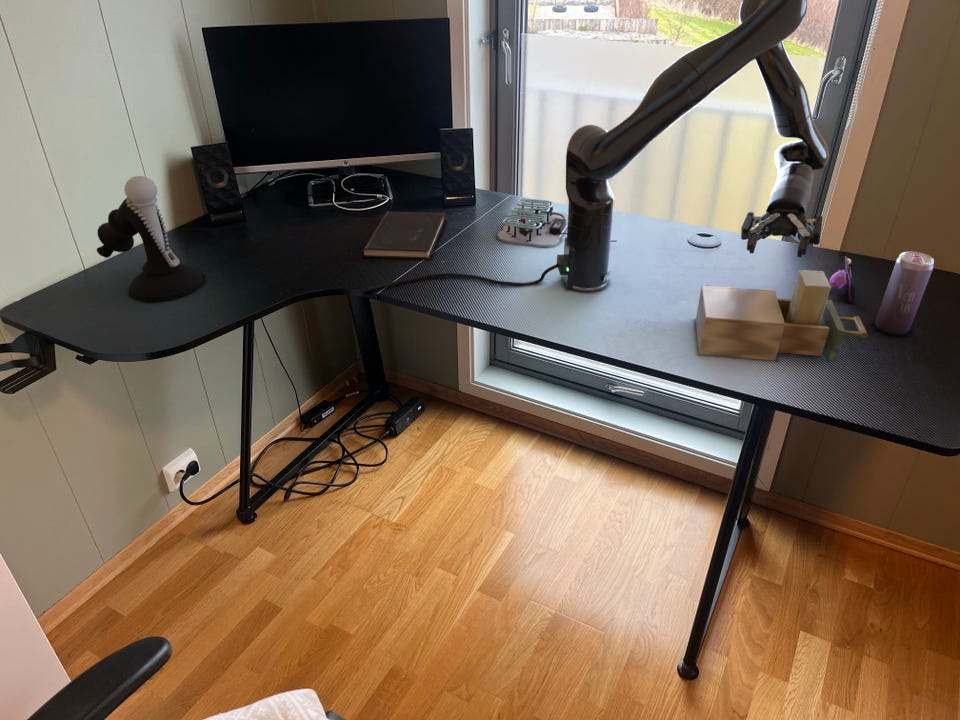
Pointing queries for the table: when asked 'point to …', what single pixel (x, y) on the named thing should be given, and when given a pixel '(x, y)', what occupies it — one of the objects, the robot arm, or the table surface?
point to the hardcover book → (405, 235)
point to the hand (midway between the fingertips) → (775, 251)
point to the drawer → (817, 333)
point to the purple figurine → (842, 278)
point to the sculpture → (147, 245)
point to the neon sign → (534, 224)
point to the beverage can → (904, 292)
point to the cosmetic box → (808, 298)
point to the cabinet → (739, 322)
